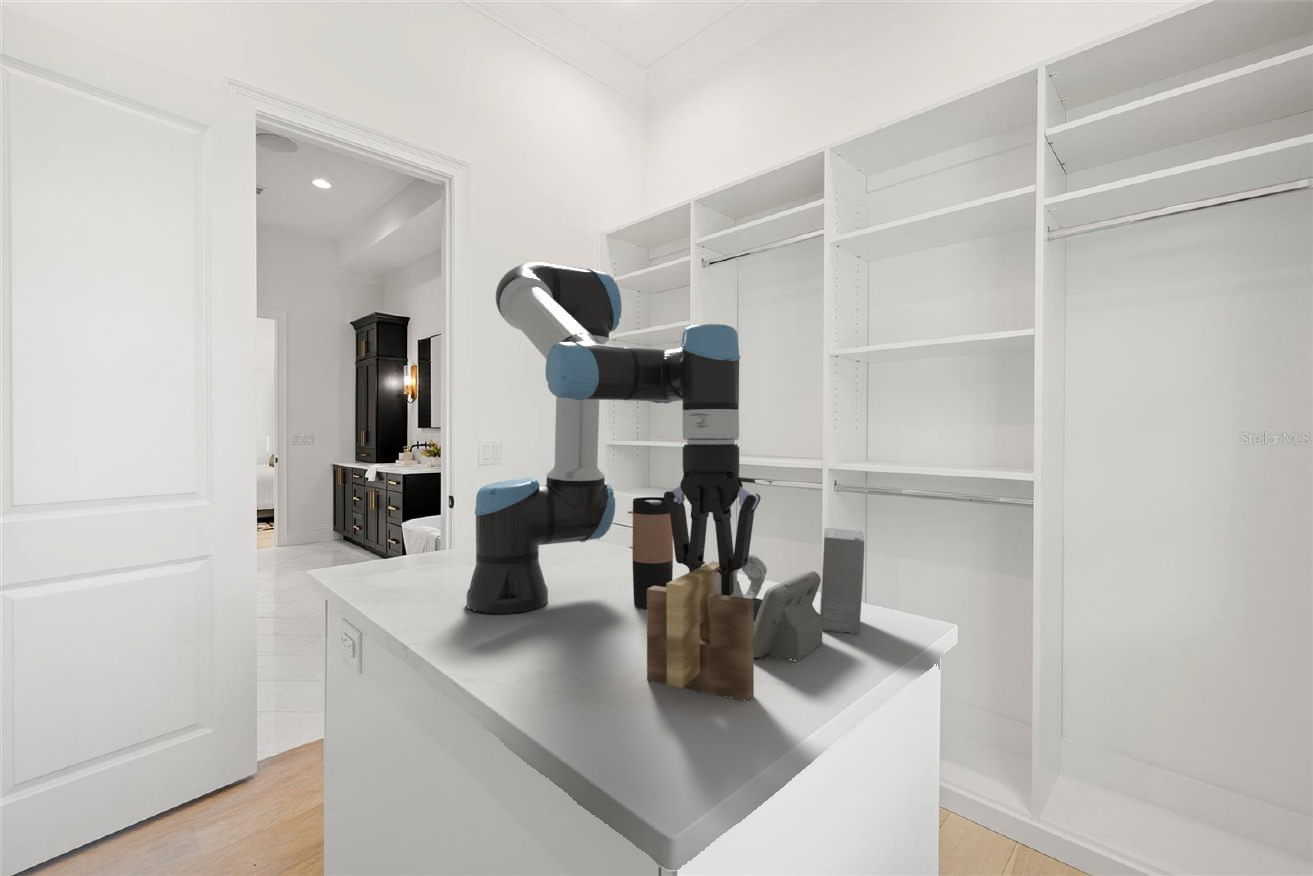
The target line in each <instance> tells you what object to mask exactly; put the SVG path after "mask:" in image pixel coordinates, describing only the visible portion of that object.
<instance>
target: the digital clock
mask: <svg viewBox="0 0 1313 876" xmlns="http://www.w3.org/2000/svg"><path fill="white" fill-rule="evenodd" d="M821 583H822V578H821V577H820V575H819V573H818V572H816V571H810V570H809V571H805V572H802V573H800V574H798V575H796V576H793V577H791V578H788V579H787V580H785V581H781V582H780V583H778V584H775V585H773V586H771V587H769V588H768V589H766V591H765V593H764V595H763V597H762V603H761V605H760V608H759V611H758V614H757V617H756V620H755V622H754V659H760V658H762V657H764V656H766V655H767V654H768V656H772V655H775V656H774V657H776V656H778V657H777V658H780V657H782V658H781V659H784V658H785V660H788V659H792V660H796V661H795V662H799V661H800V660H802V659H804V657H805V656H806V657H807V655H809V654H810V653H812V652H813V651H814V650H816V649H817V648H818V647H821V645H823V630H822V617H821V615H820V612H817V610H816V609H815V607H814V605H813V604H814V600H815V598H816V595H817V593H818V589H819V587H820V584H821ZM792 660H791V661H792Z"/></svg>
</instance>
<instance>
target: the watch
mask: <svg viewBox="0 0 1313 876" xmlns="http://www.w3.org/2000/svg"><path fill="white" fill-rule="evenodd" d="M741 570H742V572H744V574H745V576H747V579H748V580H749V581H750V585H749V587H748V589H747V591H746V592H745V593H744V592H743V591H742V589H741V585H740V581H738V572H739V570H735V571H734V592H733V594H732V595H731V596H735V597H742V598H750V599H754V622H755V620H756V617H757V614H758V611H759V608H760V605H761V603H762V600H763V598H762V599H761V598H757V596H758V595H759V593H760V592H761V590H762V587H763V584H764V583H765V579H766V575H767V571H768V569H767V566H766V565H765V563H764V562H763V560H761V559H760V558H759V557H758V556H756V555H753V554H750V553H749V557H748V563H747V565H746V566H744V567H742V568H741Z"/></svg>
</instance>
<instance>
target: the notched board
mask: <svg viewBox="0 0 1313 876" xmlns="http://www.w3.org/2000/svg"><path fill="white" fill-rule="evenodd" d="M718 569H720V568H719V561H715V560H714V561H713V560H712V561H710V562H708V563H705V564H704V565H702V567H700V568H698V569H696V570H693V571H691V572H689V571H688V572H687V573H686V574H685V573H684V574H683V575H681V576H679V577H677V578H675V579H672V581H670V582H668V583H666V584H667V684H666V685H667V686H672V687H676V688H681V689H684V688H683V687H684V686H685V685H686V684H687V683H689V682H690V681H691V680H692V679H693V678H694V677H696V676H697V675H698V674H699V673H700V638H703V639H708V640H710V597H712V596H714V573H716V572H717V571H718Z"/></svg>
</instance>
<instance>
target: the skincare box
mask: <svg viewBox="0 0 1313 876" xmlns="http://www.w3.org/2000/svg"><path fill="white" fill-rule="evenodd" d="M864 537H865V535H864V534H863V532H862V530H852V529H851V530H850V529H843V528H842V529H841V528H831V527H830V528H829V527H828V528H824V533H823V553H822V554H823V555H822V568H821V569H822V571H821V572H822V573H821V588H820V589H821V591H820V602H819V603H820V605H819V614H820V615H821V617H822V631H826V632H828V631H829V632H837V633H843V632H850V633H849V634H853V633H857V634H856V635H860V633H861V632H860V631H861V614H862V613H861V612H862V600H863V599H862V598H863V587H864V586H863V583H864V568H865V567H864V565H865V540H864Z"/></svg>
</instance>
